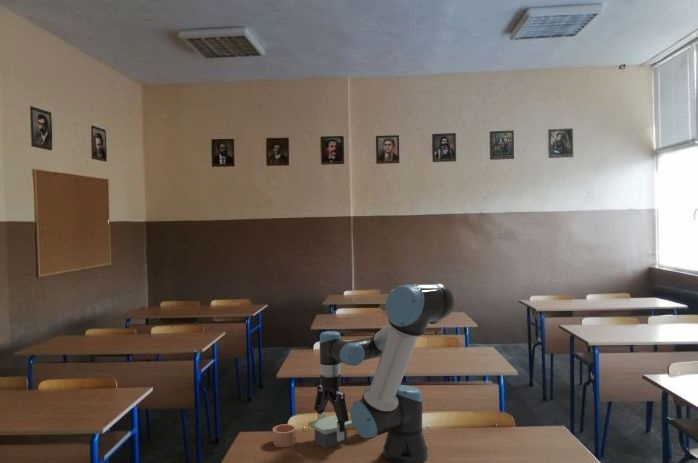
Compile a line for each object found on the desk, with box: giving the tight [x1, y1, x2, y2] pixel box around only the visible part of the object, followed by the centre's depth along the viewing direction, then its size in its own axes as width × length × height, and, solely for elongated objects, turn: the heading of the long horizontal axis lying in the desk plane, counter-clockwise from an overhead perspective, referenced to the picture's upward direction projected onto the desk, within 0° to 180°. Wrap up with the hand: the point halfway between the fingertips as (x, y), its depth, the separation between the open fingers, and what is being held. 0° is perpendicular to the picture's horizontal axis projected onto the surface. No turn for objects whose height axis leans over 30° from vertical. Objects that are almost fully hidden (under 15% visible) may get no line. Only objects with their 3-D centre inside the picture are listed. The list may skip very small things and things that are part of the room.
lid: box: [307, 414, 354, 435], centre depth 180 cm, size 10×13×1 cm
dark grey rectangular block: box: [314, 428, 348, 449], centre depth 180 cm, size 6×10×6 cm, turn 129°
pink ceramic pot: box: [272, 423, 297, 448], centre depth 181 cm, size 8×8×5 cm
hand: (331, 435), depth 180 cm, fingers closed on lid, 10 cm apart
